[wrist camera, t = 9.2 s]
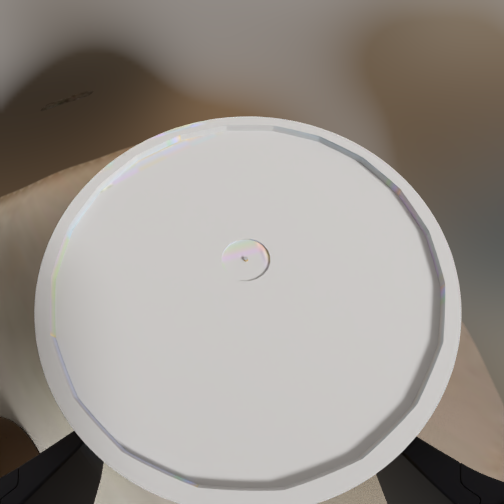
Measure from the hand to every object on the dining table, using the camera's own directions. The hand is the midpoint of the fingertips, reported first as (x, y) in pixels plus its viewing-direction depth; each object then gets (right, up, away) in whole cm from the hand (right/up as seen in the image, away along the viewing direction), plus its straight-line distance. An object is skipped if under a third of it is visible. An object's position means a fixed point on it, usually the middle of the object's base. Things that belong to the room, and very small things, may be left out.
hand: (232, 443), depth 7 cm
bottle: (0, -2, +9) cm, 9 cm away
